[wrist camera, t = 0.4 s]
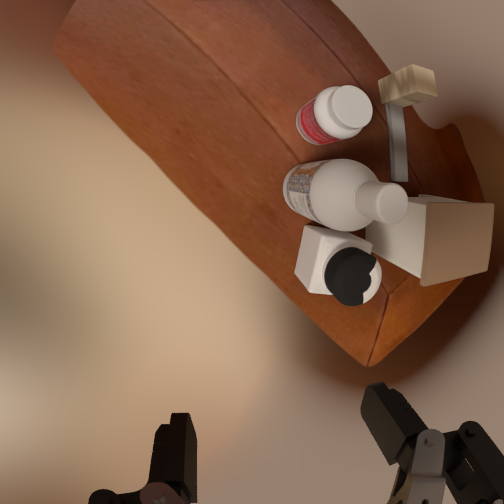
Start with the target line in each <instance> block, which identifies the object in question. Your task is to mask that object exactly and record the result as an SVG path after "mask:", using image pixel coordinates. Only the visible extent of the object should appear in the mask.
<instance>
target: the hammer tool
mask: <svg viewBox="0 0 504 504" xmlns="http://www.w3.org/2000/svg"><path fill="white" fill-rule="evenodd" d="M378 83H379V90H380V97H381V104H384V105H386V113H387V123H388V133H389V146H390V163H391V181H396V182H408V164H407V147H406V134H405V124H404V115H403V107H405V106H409V105H412V104H416V103H419V102H423V101H427V100H431V99H435V98H438V92H437V87H436V81H435V77H434V72H433V71H432V70H429V69H426V68H423V67H420V66H417V65H414V64H411V65H409V66H407V67H404V68H402V69H400V70H398V71H396V72H394V73H392V74H390V75H388V76H386V77H384V78H382V79H380V80H378Z"/></svg>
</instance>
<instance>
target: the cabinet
mask: <svg viewBox="0 0 504 504" xmlns="http://www.w3.org/2000/svg"><path fill="white" fill-rule="evenodd" d="M408 202H409V205H408V211H407V214H406V216H405V217H404V219H403V220H402V221H400V222H399V223H397V224H393V225H389V224H385V223H382V222H379V221H376V220H373V221H372V222H371V223H370V224H369V225H367V226H366V230H365V240H366V241H368V242H370V243H372V245H373V247H372V251H371V252H373V253H375V254H377V255H378V256H380V257H382V258H384V259H386V260H388V261H390V262H391V263H393V264H395V265H397V266H399V267H401V268H402V269H404V270H406V271H408V272H409V273H411V274H413V275H415V276H417V277H418V278H420V285H422V286H429V285H433V284H437V283H442V282H446V281H450V280H454V279H458V278H462V277H465V276H469V275H473V274H476V273H480V272H484V271H487V268H488V262H489V255H490V248H491V240H492V228H493V217H494V204H492V203H471V202H466V201H460V200H455V199H449V198H444V197H438V196H431V195H425V194H419V197H408Z"/></svg>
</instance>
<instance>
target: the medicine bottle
mask: <svg viewBox="0 0 504 504" xmlns="http://www.w3.org/2000/svg"><path fill="white" fill-rule="evenodd" d="M372 247H373V245H372V243H370V242H368V241H366V240H364V239H362V238H360V237H357V236H355V235H353V234H351V233H349V232H344V231H337V230H333V229H328V228H322V227H317V226H311V225H305V226H304V230H303V235H302V240H301V244H300V249H299V254H298V258H297V263H296V267H295V275H296V276H297V277H298V278H299V280H300V281H301V282H302V283H303V285H304V286H305V287H306V289H307V290H308V291H309V292H310V293H318V294H329V295H334V296H335V298H336V299H337V300H338V301H339V302H341V303H342V304H344V305H347V306H357V305H361V304H363V303H365V302H366V301H368V300H369V299H370V298H372V297H373V295H374V294H375V293H376V291H377V290H378V288H379V285H380V282H381V276H382V272H381V267H380V264H379V262H378V261H377V259H376V258H375V257H374V256H372V255H371V251H372Z"/></svg>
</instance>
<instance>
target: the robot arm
mask: <svg viewBox="0 0 504 504" xmlns="http://www.w3.org/2000/svg"><path fill="white" fill-rule="evenodd" d="M361 415H362V418H363V419H364V421H365V423H366V425H367V426H368V428H369V430H370V432H371V434H372V435H373V437H374V439H375V441H376V442H377V444H378V446H379V448H380V449H381V451H382V453H383V455H384V456H385V458H386V460H387V462H388V463H389V465H392V464H395V463H397V462H398V464H399V465H400V466H399V468H398V471H397V475H396V479H395V482H394V486H393V489H392V492H391V495H390V499H389V501H388V503H387V504H442V501H443V495H444V490H445V483H446V484H447V486H448V488H449V490H450V492H451V493H452V495H453V497H454V499H455V501H456V502H457V504H504V456H503V454H502V453H501V452H500V450H499V449H498V448H497V446H496V445H495V444H494V442H493V441H492V440H491V438H490V437H489V436H488V434H487V433H486V432H485V431H484V429H483V428H482V427H481V425H479V424H478V423H477V422H474V421H467V422H464V423H463V424H462V425H461V426H460V428H459V429H458V430H456V431H451V432H447V433H441V432H440V431H438V430H435V429H428V427H427V426H426V425H425V424H424V422H423V421H422V420H421V418H420V417H419V416H418V414H417V413H416V412H415V411H414V409H413V408H411V405H410V404H409V403H408V402H407V400H406V399H405V398H404V396H403V395H402V394H401V393H400V392H398V391H396V390H395V389H390V390H389V389H388V388H387V386H386V385H385V383H384V382H378V383H375V384H371V385H368V386H367V387H366V389H365V393H364V397H363V400H362V404H361ZM465 458H466V459H467V460H466V459H465ZM467 461H468V462H467ZM468 463H469V464H470V465H469V464H468ZM470 466H471V467H472V468H471V467H470ZM472 469H473V470H474V471H473V470H472ZM190 503H197V438H196V432H195V429H194V426H193V423H192V420H191V417H190V414H189V413H172V414H171V419H170V424H161V425H160V427H159V428H158V430H157V431H156V433H155V439H154V444H153V452H152V458H151V465H150V472H149V479H148V482H147V484H146V485H145V486H144V487H143V488H142V489H140V490H139V491H136V492H131V493H124V494H115V493H114V492H113V491H110V490H107V489H100V490H97V491H95V492H93V493H92V494H91V496H90V498H89V503H88V504H190Z"/></svg>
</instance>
